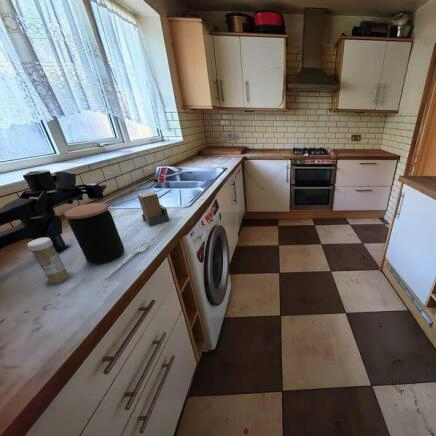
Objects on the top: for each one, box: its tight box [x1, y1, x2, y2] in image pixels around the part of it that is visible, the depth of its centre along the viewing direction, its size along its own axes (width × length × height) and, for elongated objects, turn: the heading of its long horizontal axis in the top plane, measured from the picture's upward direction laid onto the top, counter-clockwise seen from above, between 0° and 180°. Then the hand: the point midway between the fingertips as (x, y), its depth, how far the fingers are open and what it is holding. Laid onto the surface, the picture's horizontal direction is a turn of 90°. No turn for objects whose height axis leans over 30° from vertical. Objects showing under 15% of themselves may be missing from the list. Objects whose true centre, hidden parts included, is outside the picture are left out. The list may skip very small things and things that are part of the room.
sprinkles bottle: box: [26, 237, 70, 284], centre depth 66 cm, size 5×5×13 cm
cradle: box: [141, 204, 170, 227], centre depth 103 cm, size 8×9×6 cm
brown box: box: [136, 190, 163, 224], centre depth 101 cm, size 6×6×13 cm
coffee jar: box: [63, 202, 125, 265], centre depth 75 cm, size 11×11×18 cm
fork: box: [104, 239, 150, 279], centre depth 77 cm, size 3×20×2 cm, turn 177°
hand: (95, 185), depth 97 cm, fingers open, 9 cm apart
